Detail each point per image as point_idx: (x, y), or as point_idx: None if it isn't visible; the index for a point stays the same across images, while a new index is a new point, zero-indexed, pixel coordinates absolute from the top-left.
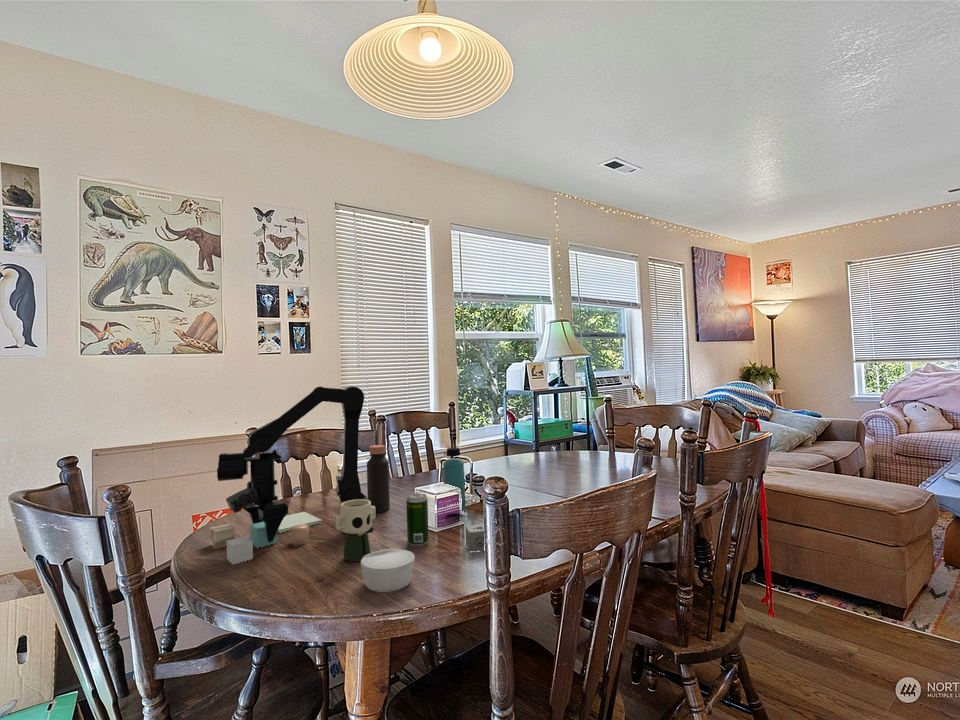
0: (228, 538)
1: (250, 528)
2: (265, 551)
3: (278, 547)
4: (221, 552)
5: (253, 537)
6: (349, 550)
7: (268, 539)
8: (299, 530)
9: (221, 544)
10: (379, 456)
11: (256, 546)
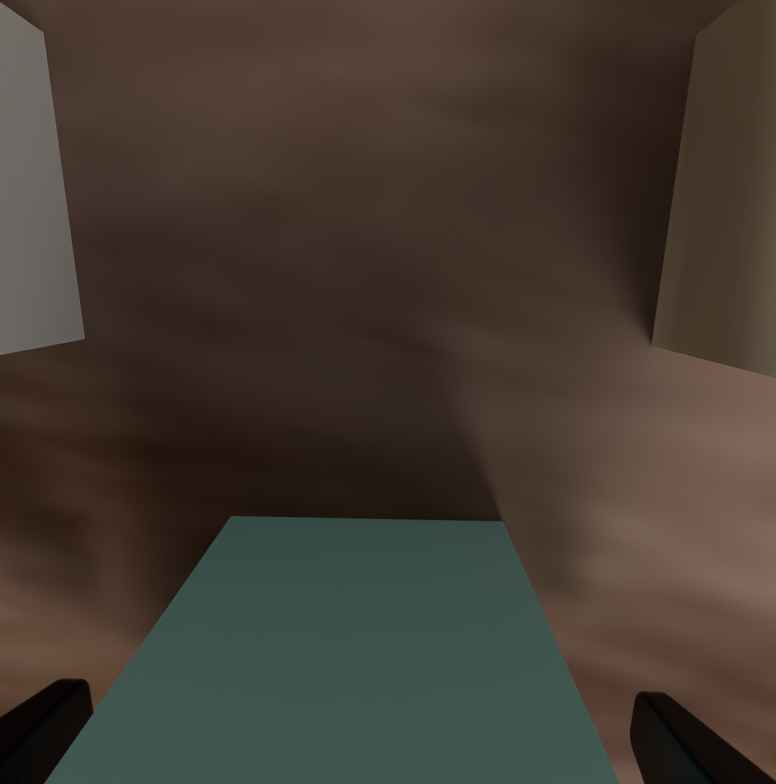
0: (757, 248)
1: (579, 714)
2: (38, 547)
3: None
4: (447, 66)
5: (375, 594)
6: None
7: (12, 713)
8: None
9: (716, 121)
10: None
11: (258, 526)
